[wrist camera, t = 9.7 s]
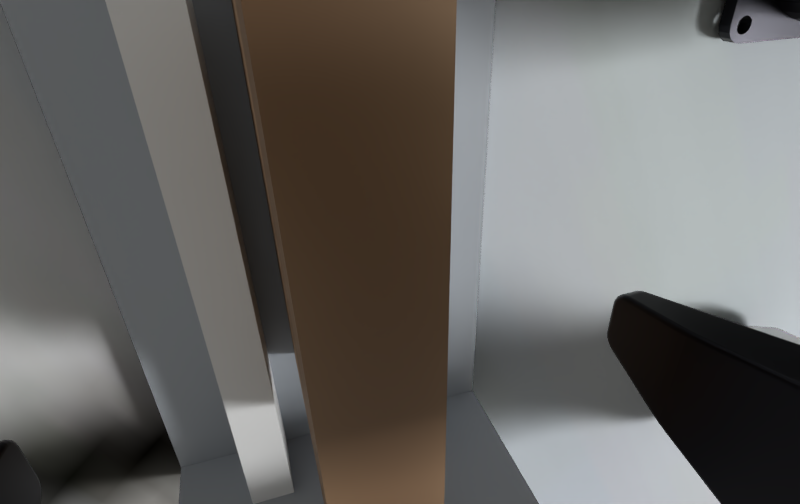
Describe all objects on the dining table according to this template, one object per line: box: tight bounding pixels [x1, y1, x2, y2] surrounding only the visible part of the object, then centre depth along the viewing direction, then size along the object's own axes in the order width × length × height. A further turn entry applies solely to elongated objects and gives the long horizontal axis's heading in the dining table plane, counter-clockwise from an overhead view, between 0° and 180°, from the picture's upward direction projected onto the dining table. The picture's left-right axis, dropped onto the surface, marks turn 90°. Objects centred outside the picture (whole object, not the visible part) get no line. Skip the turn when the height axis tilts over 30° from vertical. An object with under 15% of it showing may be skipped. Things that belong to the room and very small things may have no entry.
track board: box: [0, 0, 539, 504], centre depth 11 cm, size 10×20×8 cm, turn 2°
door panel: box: [231, 0, 457, 504], centre depth 10 cm, size 2×10×7 cm, turn 2°
